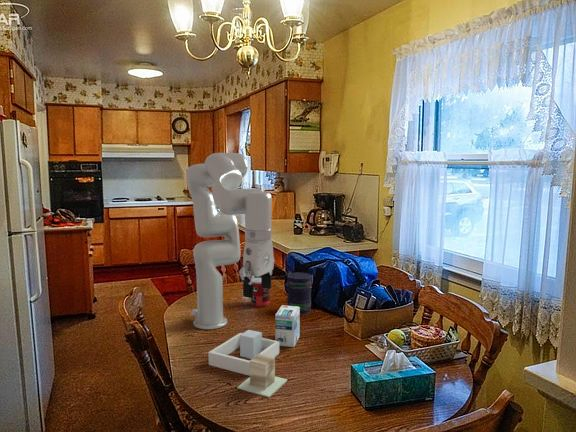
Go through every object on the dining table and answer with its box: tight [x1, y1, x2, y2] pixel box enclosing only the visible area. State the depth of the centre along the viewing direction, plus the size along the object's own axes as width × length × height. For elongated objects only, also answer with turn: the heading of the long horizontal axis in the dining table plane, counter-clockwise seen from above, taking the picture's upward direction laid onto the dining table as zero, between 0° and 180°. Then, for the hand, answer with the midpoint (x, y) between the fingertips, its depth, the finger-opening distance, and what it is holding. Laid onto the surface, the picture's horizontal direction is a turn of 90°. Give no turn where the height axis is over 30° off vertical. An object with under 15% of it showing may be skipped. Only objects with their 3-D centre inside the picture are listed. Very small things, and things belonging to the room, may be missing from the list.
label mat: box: [236, 375, 288, 398], centre depth 122 cm, size 10×10×1 cm
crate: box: [207, 332, 280, 377], centre depth 137 cm, size 15×17×4 cm
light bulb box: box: [274, 304, 301, 348], centre depth 151 cm, size 11×7×11 cm, turn 169°
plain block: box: [239, 329, 263, 360], centre depth 140 cm, size 5×5×7 cm
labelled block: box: [249, 354, 276, 389], centre depth 121 cm, size 5×5×7 cm
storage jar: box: [286, 271, 312, 316], centre depth 181 cm, size 10×10×15 cm
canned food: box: [250, 277, 271, 308], centre depth 189 cm, size 8×8×11 cm
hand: (257, 292), depth 129 cm, fingers open, 9 cm apart
